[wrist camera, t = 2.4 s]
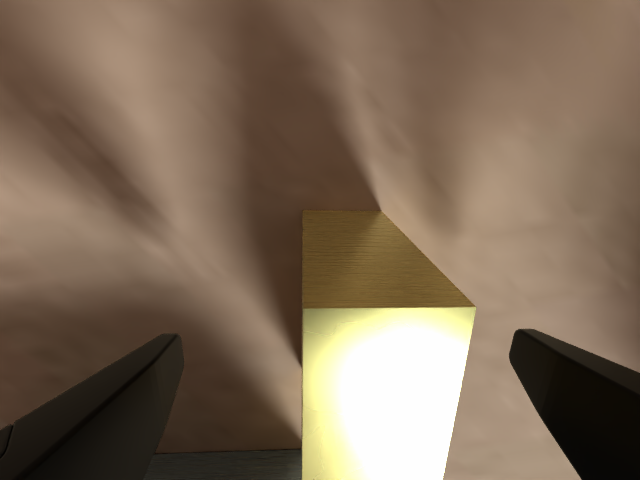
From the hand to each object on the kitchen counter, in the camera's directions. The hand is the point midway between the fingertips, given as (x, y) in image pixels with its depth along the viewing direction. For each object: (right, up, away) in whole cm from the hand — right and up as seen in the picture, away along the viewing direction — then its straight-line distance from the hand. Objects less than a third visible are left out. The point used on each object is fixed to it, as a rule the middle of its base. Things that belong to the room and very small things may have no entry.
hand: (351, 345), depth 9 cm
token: (0, +1, +3) cm, 3 cm away
